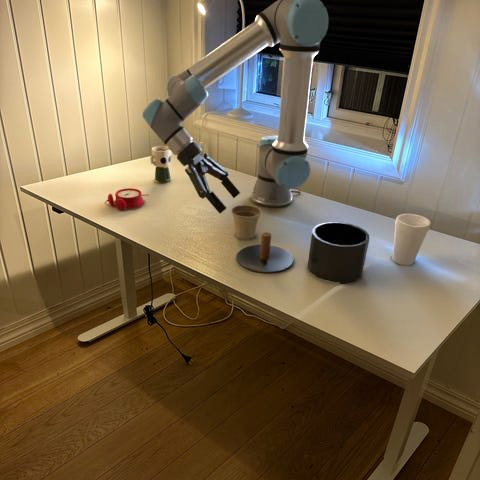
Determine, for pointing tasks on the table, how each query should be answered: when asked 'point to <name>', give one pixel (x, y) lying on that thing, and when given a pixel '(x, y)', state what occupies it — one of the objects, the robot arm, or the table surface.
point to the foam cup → (409, 237)
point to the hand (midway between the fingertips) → (230, 203)
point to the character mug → (161, 163)
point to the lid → (264, 257)
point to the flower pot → (245, 220)
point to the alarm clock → (126, 199)
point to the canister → (338, 252)
